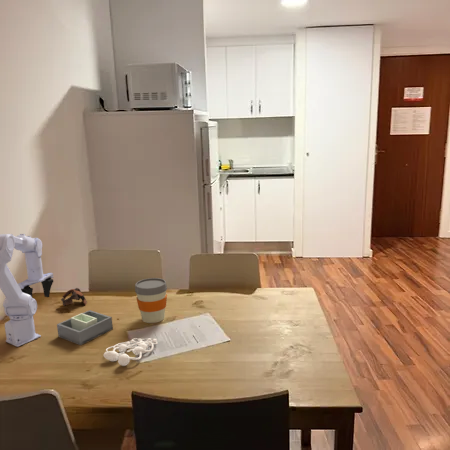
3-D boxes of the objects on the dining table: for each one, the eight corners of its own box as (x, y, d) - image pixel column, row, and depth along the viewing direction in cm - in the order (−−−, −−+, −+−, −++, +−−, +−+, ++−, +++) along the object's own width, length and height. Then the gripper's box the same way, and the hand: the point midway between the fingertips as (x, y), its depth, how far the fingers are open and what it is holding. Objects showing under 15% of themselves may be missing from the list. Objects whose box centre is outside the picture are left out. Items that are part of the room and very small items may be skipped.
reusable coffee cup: (152, 327, 171) (150, 291, 168) (131, 320, 179) (127, 284, 176) (175, 316, 181) (173, 281, 178) (153, 309, 188) (151, 275, 185)
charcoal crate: (80, 345, 159) (79, 332, 158) (58, 336, 167) (56, 324, 166) (112, 329, 171) (111, 317, 170) (90, 321, 179) (89, 310, 177)
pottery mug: (87, 308, 193) (75, 295, 189) (68, 318, 194) (56, 305, 190) (90, 292, 203) (79, 279, 200) (72, 301, 204) (61, 289, 200)
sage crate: (87, 335, 164) (85, 323, 163) (72, 330, 169) (70, 317, 168) (98, 330, 168) (96, 318, 167) (82, 325, 173) (81, 313, 172)
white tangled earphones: (139, 339, 165) (138, 329, 165) (167, 346, 157) (166, 335, 156) (97, 361, 150) (95, 349, 149) (126, 369, 141) (124, 357, 141)
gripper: (24, 274, 167) (29, 308, 170) (56, 263, 179) (60, 295, 182) (12, 271, 171) (17, 305, 174) (45, 261, 183) (49, 292, 186)
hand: (38, 300), depth 178 cm, fingers open, 7 cm apart
